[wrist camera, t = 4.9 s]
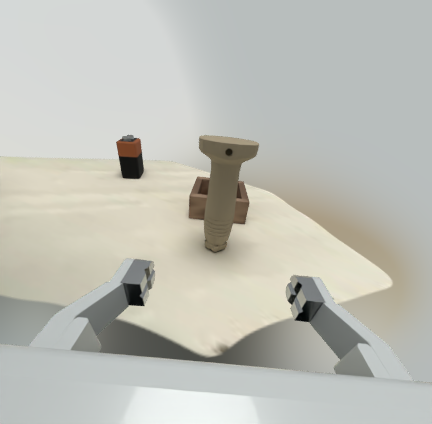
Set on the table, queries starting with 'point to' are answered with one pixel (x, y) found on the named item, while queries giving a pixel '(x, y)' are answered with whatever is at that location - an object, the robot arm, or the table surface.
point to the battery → (130, 156)
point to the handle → (223, 184)
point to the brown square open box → (200, 197)
